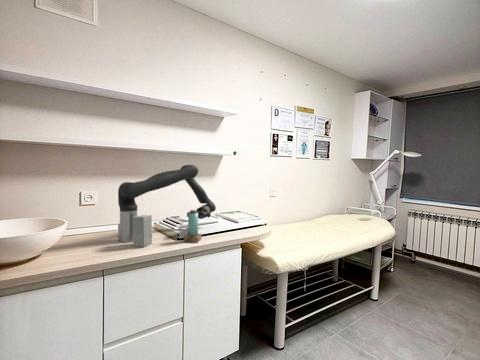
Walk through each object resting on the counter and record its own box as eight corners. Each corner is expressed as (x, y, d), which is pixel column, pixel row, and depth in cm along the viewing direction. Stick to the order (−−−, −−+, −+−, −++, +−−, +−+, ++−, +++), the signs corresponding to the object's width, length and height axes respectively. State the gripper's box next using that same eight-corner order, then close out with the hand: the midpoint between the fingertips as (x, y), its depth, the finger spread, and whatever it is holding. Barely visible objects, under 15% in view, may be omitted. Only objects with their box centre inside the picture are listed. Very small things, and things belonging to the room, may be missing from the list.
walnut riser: (183, 242, 143) (184, 236, 143) (188, 238, 151) (188, 233, 151) (197, 242, 142) (197, 237, 142) (201, 238, 150) (201, 233, 150)
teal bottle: (186, 236, 144) (187, 211, 143) (189, 233, 149) (190, 209, 149) (196, 236, 143) (196, 211, 143) (198, 234, 149) (199, 209, 148)
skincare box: (144, 247, 131) (144, 217, 130) (131, 246, 132) (132, 216, 132) (152, 243, 139) (153, 214, 139) (141, 242, 140) (141, 214, 140)
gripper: (192, 206, 168) (184, 209, 152) (213, 206, 167) (207, 210, 150) (192, 217, 168) (184, 222, 152) (213, 218, 167) (207, 223, 151)
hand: (195, 216), depth 151 cm, fingers open, 8 cm apart
